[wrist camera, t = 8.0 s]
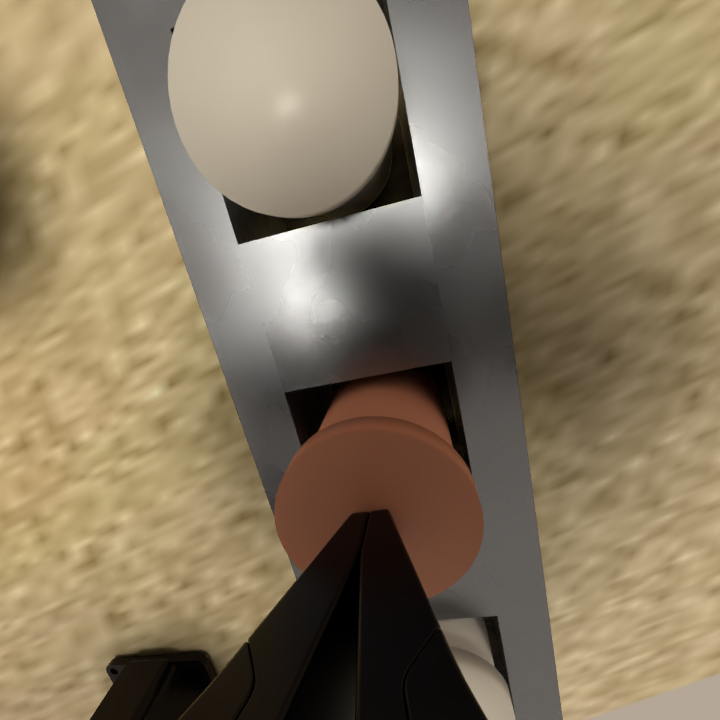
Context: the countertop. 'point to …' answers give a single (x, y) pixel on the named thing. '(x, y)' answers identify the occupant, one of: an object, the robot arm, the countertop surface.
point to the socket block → (371, 303)
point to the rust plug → (385, 477)
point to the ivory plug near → (286, 101)
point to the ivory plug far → (478, 665)
